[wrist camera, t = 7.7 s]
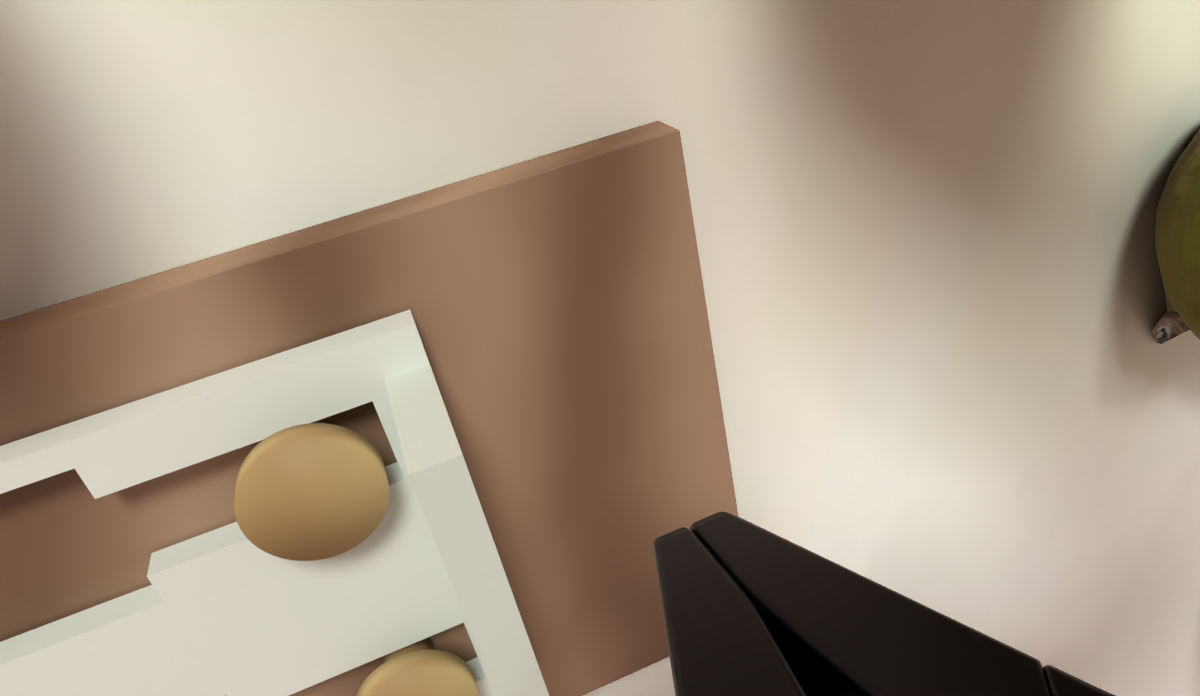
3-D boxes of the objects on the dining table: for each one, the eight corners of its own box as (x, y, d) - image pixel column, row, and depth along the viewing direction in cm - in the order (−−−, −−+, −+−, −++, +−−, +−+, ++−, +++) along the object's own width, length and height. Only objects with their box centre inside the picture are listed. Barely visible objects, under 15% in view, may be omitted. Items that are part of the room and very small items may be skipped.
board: (658, 120, 19) (722, 150, 17) (736, 593, 27) (788, 667, 24) (-251, 398, 16) (-367, 498, 13) (147, 853, 23) (129, 975, 21)
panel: (410, 309, 18) (446, 408, 14) (538, 667, 24) (588, 806, 20) (-206, 514, 15) (-364, 701, 12) (109, 856, 21) (72, 1054, 18)
